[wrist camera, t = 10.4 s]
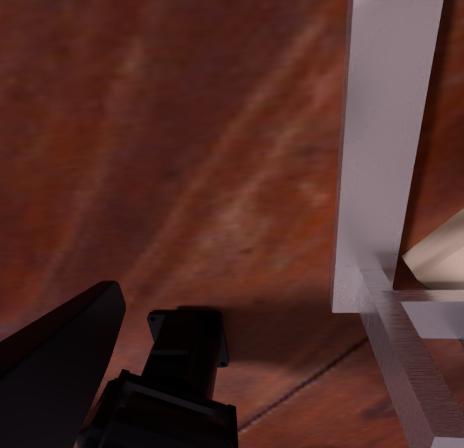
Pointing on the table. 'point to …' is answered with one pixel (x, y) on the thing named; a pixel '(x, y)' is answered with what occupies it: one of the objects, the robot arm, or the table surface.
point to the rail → (440, 256)
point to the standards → (391, 211)
